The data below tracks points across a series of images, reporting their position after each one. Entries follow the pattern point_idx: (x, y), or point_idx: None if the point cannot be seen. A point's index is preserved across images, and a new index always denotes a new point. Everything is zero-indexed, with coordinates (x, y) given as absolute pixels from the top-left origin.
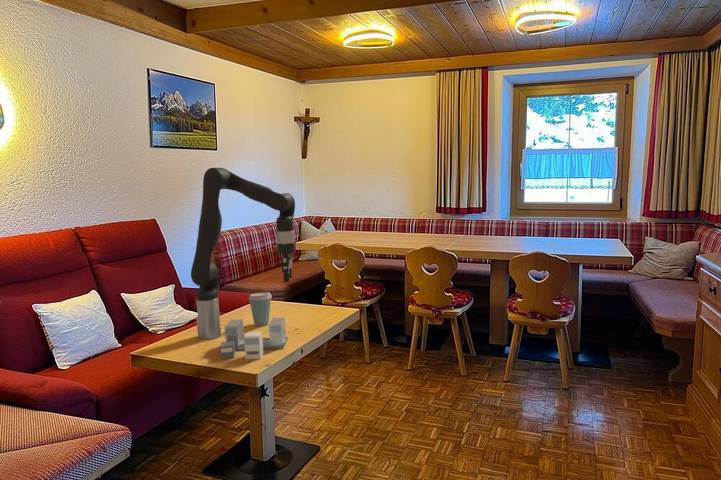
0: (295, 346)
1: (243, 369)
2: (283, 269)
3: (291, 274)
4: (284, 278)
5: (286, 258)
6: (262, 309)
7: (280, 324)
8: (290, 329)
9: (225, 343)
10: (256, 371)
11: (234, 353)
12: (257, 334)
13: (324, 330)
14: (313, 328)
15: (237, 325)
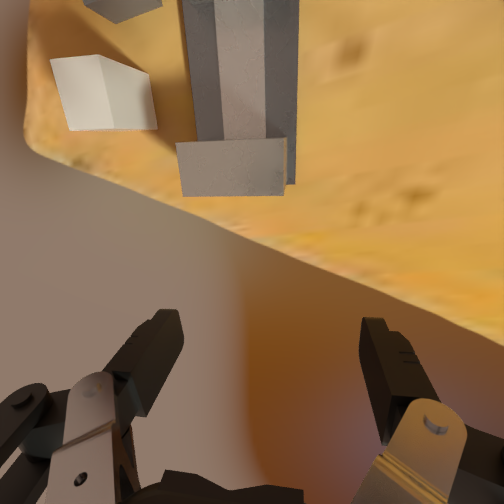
0: (224, 217)
1: (39, 99)
2: (14, 432)
3: (366, 382)
4: (130, 337)
5: None
6: None
7: (183, 194)
8: (420, 172)
9: None
10: (37, 143)
11: (137, 11)
12: (86, 116)
13: (369, 286)
14: (404, 253)
15: None
